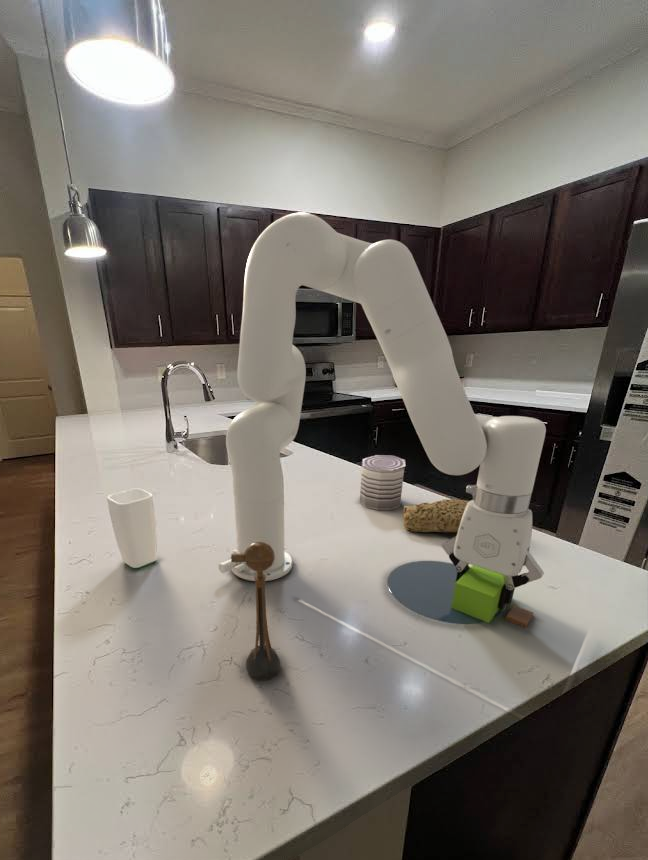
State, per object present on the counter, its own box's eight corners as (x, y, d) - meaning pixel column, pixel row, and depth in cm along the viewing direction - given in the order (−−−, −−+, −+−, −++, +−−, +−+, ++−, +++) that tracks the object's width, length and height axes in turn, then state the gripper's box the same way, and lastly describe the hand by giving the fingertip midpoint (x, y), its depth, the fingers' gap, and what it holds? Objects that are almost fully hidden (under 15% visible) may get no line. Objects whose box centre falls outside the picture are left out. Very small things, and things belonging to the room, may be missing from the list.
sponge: (406, 542, 96) (502, 533, 90) (402, 509, 94) (499, 498, 89) (403, 528, 108) (488, 519, 103) (400, 499, 107) (485, 488, 101)
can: (410, 504, 114) (415, 461, 109) (381, 514, 108) (385, 469, 103) (378, 492, 123) (382, 452, 118) (350, 501, 117) (352, 459, 112)
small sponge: (488, 623, 66) (494, 596, 64) (451, 607, 70) (455, 582, 68) (509, 595, 73) (515, 571, 71) (474, 583, 77) (478, 559, 75)
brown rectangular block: (525, 630, 66) (526, 624, 65) (504, 622, 68) (505, 616, 67) (532, 618, 68) (534, 612, 68) (512, 610, 70) (513, 605, 70)
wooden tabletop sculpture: (238, 680, 57) (229, 552, 49) (239, 656, 62) (232, 534, 54) (281, 679, 57) (279, 550, 49) (279, 655, 62) (277, 533, 54)
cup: (147, 549, 93) (137, 486, 87) (165, 561, 88) (155, 495, 82) (116, 561, 88) (103, 496, 82) (133, 574, 83) (120, 505, 77)
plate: (480, 644, 63) (481, 641, 63) (366, 593, 76) (366, 590, 76) (521, 589, 76) (522, 586, 76) (417, 553, 89) (418, 550, 89)
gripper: (436, 492, 67) (423, 587, 74) (560, 521, 56) (531, 630, 63) (455, 481, 72) (441, 571, 79) (573, 505, 61) (545, 608, 68)
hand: (481, 596), depth 71 cm, fingers closed on small sponge, 6 cm apart
